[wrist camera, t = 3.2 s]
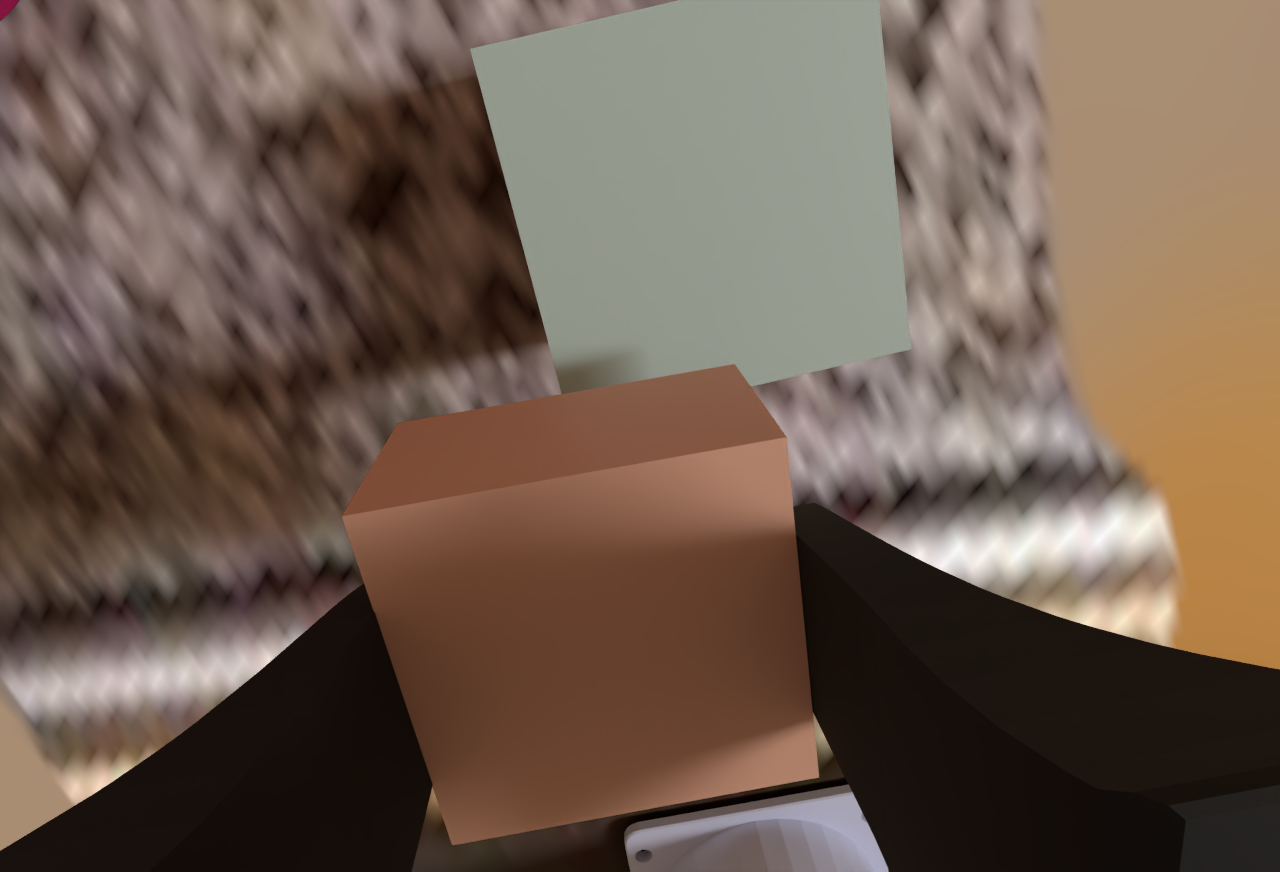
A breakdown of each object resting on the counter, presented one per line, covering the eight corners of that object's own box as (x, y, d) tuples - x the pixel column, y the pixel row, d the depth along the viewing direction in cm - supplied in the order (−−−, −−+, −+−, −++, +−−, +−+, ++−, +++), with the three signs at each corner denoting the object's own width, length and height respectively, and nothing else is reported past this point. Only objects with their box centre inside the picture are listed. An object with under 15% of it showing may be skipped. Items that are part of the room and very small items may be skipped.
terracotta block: (767, 642, 13) (818, 776, 11) (477, 695, 13) (452, 844, 10) (735, 363, 12) (786, 437, 9) (397, 423, 11) (341, 516, 9)
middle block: (852, 314, 16) (911, 349, 13) (571, 379, 16) (570, 428, 13) (814, -8, 14) (874, -45, 11) (490, 67, 14) (470, 49, 11)
